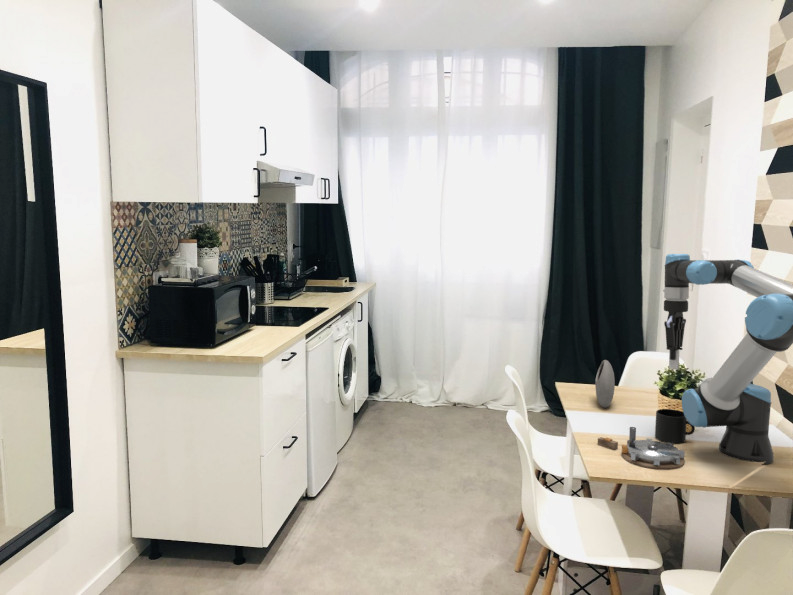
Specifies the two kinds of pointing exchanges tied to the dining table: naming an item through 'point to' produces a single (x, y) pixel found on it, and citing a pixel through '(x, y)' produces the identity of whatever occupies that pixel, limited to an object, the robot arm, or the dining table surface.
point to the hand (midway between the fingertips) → (673, 368)
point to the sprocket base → (651, 465)
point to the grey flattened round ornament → (605, 384)
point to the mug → (671, 426)
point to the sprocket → (651, 450)
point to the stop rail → (608, 443)
